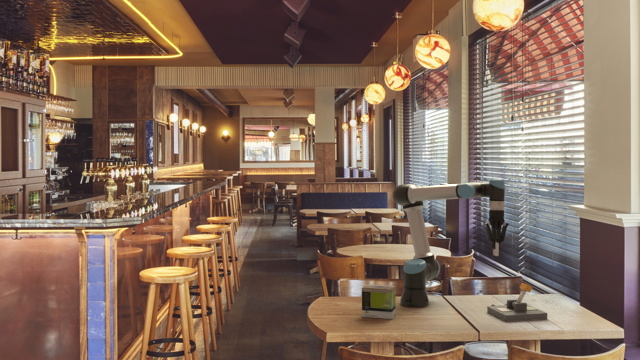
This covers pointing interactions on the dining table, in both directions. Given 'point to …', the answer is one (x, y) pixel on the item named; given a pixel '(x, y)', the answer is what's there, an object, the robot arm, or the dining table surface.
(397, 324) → the dining table surface
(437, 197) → the robot arm
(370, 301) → the tea box
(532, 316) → the breaker box
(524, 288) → the breaker lever
